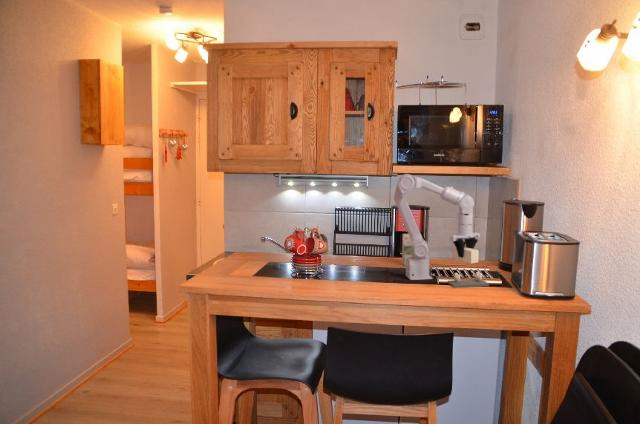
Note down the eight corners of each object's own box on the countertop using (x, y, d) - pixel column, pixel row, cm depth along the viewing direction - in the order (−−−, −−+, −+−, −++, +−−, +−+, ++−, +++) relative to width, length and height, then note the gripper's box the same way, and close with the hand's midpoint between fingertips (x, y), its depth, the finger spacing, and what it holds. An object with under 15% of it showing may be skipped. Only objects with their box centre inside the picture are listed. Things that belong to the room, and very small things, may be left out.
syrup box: (414, 263, 235) (414, 233, 233) (415, 266, 229) (415, 235, 228) (402, 263, 236) (402, 233, 234) (403, 265, 230) (403, 235, 228)
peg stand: (454, 287, 192) (454, 276, 192) (447, 283, 199) (448, 272, 199) (488, 286, 194) (489, 274, 193) (481, 281, 201) (481, 270, 200)
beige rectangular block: (478, 262, 201) (478, 250, 200) (471, 263, 199) (471, 251, 198) (459, 257, 210) (459, 245, 210) (451, 258, 208) (452, 246, 208)
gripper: (459, 226, 196) (458, 260, 197) (485, 223, 202) (485, 256, 204) (446, 224, 202) (446, 257, 204) (473, 221, 209) (472, 253, 210)
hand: (464, 256), depth 204 cm, fingers closed on beige rectangular block, 4 cm apart
